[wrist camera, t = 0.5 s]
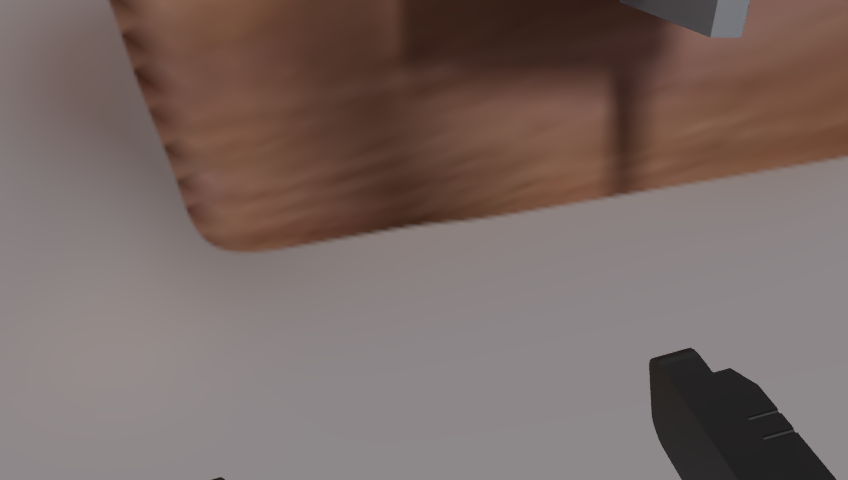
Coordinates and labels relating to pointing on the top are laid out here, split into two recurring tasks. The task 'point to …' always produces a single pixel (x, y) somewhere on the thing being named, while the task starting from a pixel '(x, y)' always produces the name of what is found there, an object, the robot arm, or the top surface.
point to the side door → (699, 14)
